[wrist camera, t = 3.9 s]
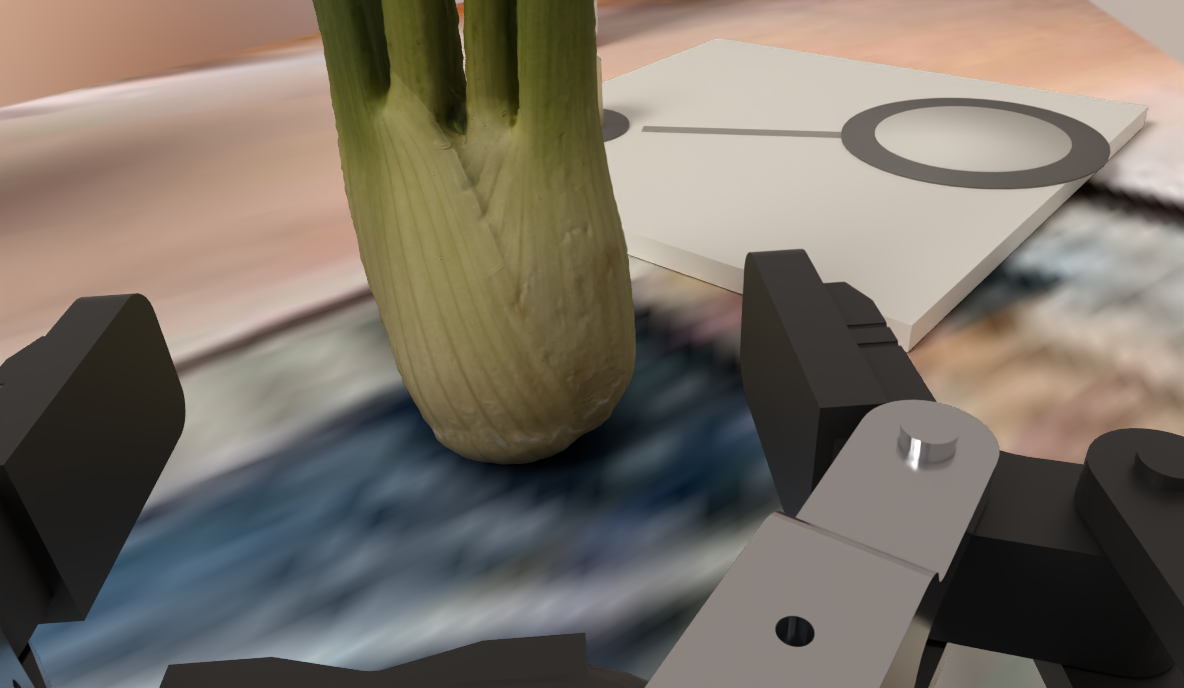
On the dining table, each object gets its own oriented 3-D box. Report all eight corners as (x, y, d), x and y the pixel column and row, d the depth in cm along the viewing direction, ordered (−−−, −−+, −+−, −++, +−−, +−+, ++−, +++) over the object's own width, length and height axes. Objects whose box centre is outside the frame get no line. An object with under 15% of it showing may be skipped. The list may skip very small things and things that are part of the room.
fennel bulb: (364, 410, 22) (235, -146, 16) (522, 333, 25) (467, -170, 18) (507, 530, 19) (415, -134, 12) (676, 424, 21) (674, -167, 15)
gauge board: (410, 178, 35) (395, 89, 33) (716, 53, 47) (718, -16, 45) (926, 358, 23) (947, 235, 21) (1157, 129, 35) (1183, 38, 33)
